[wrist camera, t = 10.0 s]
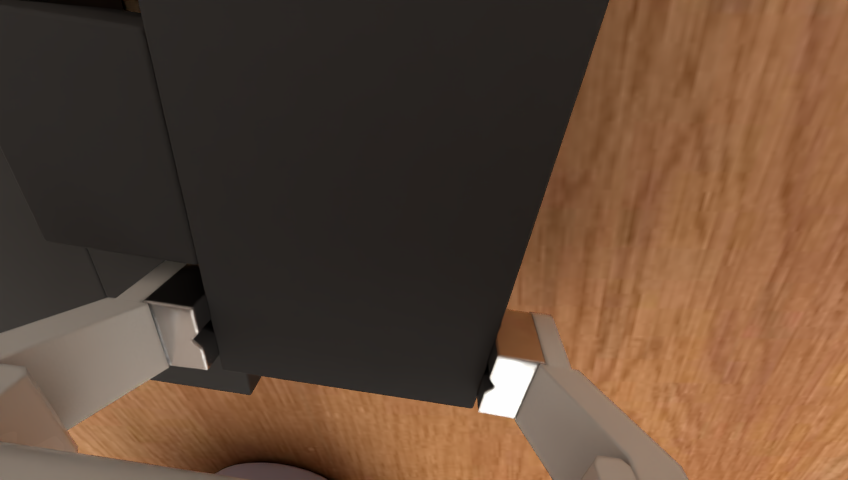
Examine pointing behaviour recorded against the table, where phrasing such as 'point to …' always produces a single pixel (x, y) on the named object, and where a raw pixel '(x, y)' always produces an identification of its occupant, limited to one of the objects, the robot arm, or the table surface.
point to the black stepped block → (306, 165)
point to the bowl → (269, 472)
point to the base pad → (76, 272)
